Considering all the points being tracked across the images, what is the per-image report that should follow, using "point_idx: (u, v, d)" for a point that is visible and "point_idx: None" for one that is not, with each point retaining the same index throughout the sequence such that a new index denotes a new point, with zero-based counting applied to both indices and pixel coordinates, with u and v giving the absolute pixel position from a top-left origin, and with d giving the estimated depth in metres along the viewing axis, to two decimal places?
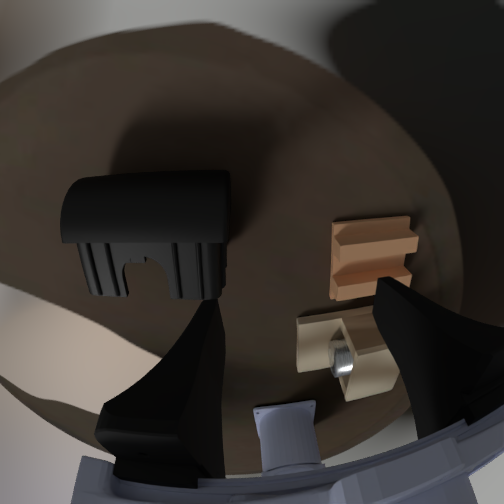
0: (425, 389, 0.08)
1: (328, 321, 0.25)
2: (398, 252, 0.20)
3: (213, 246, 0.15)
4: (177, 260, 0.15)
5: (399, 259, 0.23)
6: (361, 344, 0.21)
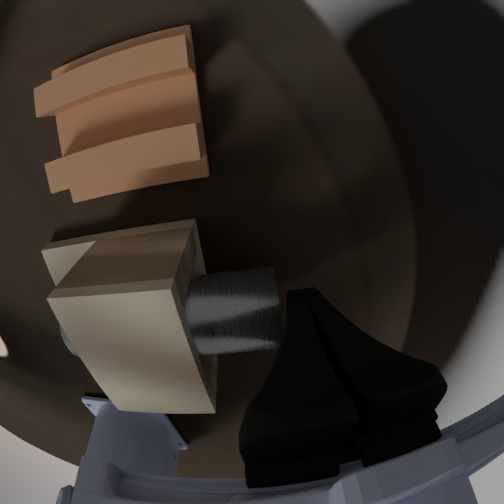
0: None
1: (78, 246, 0.12)
2: (139, 73, 0.08)
3: None
4: None
5: (184, 108, 0.10)
6: (73, 280, 0.09)
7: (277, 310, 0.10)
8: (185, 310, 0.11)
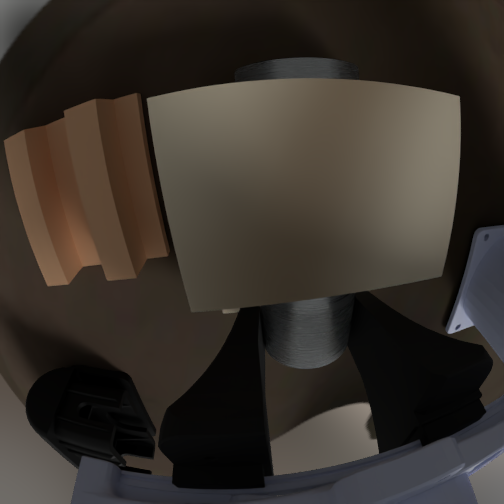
0: (384, 403, 0.08)
1: None
2: (28, 174, 0.08)
3: (61, 436, 0.11)
4: (85, 454, 0.12)
5: None
6: None
7: (266, 64, 0.06)
8: None
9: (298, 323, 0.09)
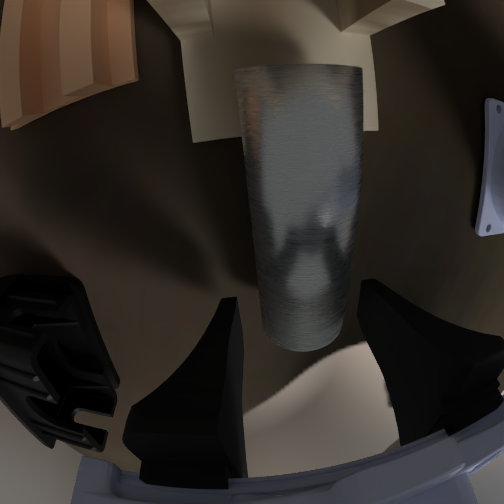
0: (407, 396, 0.08)
1: (188, 69, 0.08)
2: (18, 14, 0.05)
3: None
4: (12, 382, 0.08)
5: None
6: None
7: (269, 69, 0.05)
8: (267, 199, 0.08)
9: (296, 312, 0.10)
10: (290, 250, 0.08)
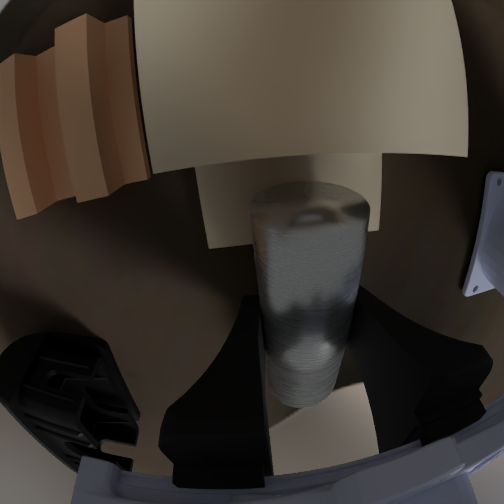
0: (384, 403, 0.08)
1: (201, 178, 0.10)
2: (12, 94, 0.06)
3: (26, 407, 0.09)
4: (53, 432, 0.10)
5: None
6: None
7: (284, 236, 0.07)
8: (276, 322, 0.09)
9: (296, 386, 0.11)
10: (293, 354, 0.10)
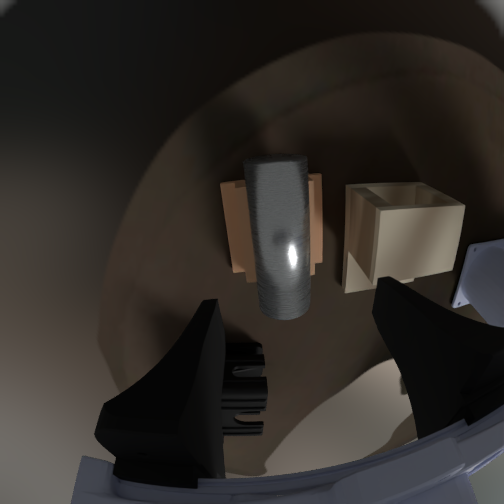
0: (425, 389, 0.08)
1: (349, 264, 0.22)
2: None
3: (225, 394, 0.21)
4: (235, 407, 0.22)
5: None
6: (367, 266, 0.18)
7: (264, 166, 0.14)
8: (263, 229, 0.16)
9: (281, 291, 0.17)
10: (276, 254, 0.16)
